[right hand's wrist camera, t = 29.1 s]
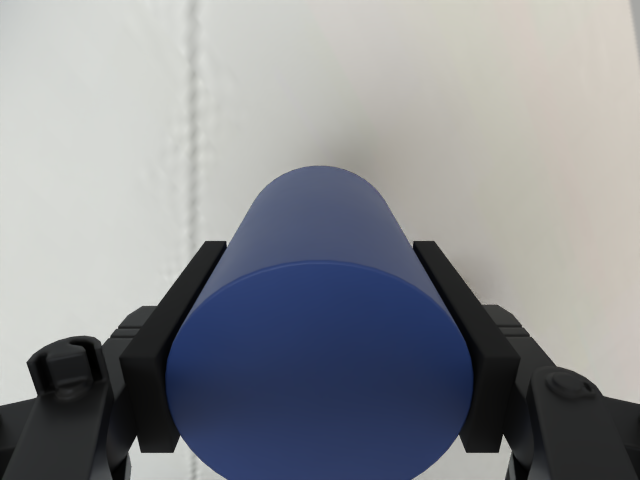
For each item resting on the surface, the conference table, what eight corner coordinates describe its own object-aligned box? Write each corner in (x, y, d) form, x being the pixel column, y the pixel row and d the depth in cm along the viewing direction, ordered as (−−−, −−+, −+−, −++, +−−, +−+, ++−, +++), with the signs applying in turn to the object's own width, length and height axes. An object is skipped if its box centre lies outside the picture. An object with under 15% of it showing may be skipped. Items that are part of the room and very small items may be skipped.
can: (228, 282, 18) (141, 469, 9) (267, 143, 16) (199, 215, 7) (363, 321, 19) (401, 528, 10) (419, 194, 17) (533, 317, 8)
